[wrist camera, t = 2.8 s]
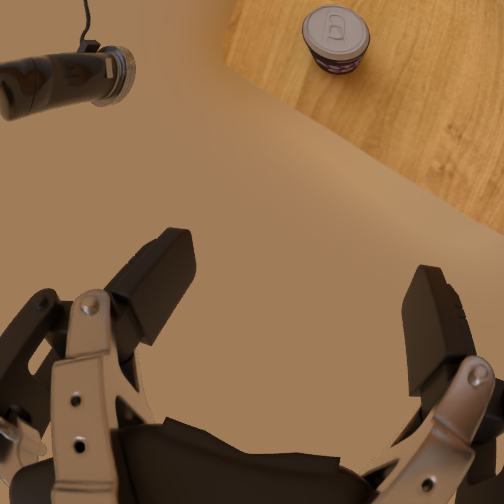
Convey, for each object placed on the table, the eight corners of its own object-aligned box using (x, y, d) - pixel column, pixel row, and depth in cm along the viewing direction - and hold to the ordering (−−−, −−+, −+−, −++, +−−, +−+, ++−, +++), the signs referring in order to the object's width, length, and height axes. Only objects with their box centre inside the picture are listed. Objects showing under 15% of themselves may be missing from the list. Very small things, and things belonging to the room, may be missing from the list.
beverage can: (312, 73, 26) (299, 55, 17) (313, 32, 23) (299, -2, 14) (359, 78, 25) (371, 64, 15) (360, 37, 22) (370, 5, 12)
